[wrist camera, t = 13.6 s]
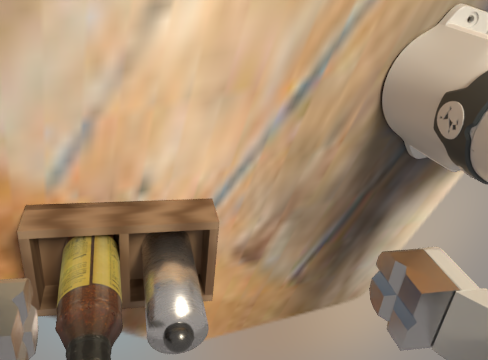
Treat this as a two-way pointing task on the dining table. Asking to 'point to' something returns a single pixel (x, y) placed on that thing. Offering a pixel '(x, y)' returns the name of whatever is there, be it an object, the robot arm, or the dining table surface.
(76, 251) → the sauce bottle
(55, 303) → the condiment caddy
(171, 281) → the pepper mill
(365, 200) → the dining table surface
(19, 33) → the dining table surface
